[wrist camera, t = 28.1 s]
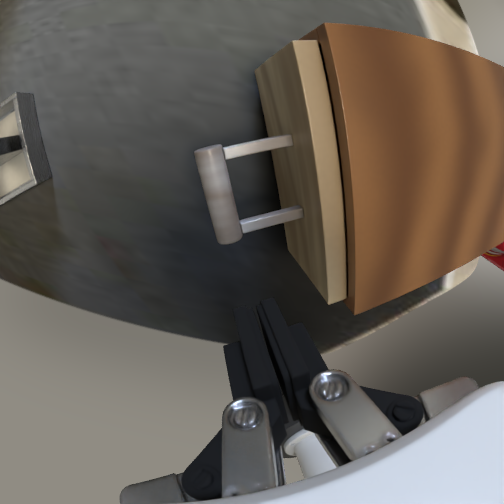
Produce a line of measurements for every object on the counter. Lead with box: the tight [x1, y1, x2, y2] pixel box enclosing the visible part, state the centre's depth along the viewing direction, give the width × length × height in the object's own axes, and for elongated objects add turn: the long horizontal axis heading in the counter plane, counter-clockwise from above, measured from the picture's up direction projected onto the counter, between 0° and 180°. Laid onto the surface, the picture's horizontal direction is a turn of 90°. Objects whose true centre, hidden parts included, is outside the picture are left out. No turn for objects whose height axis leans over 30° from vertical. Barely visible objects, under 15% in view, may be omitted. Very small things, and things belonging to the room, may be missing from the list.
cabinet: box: [299, 23, 504, 315], centre depth 16 cm, size 17×15×9 cm
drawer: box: [194, 40, 348, 305], centre depth 16 cm, size 20×13×7 cm, turn 102°
